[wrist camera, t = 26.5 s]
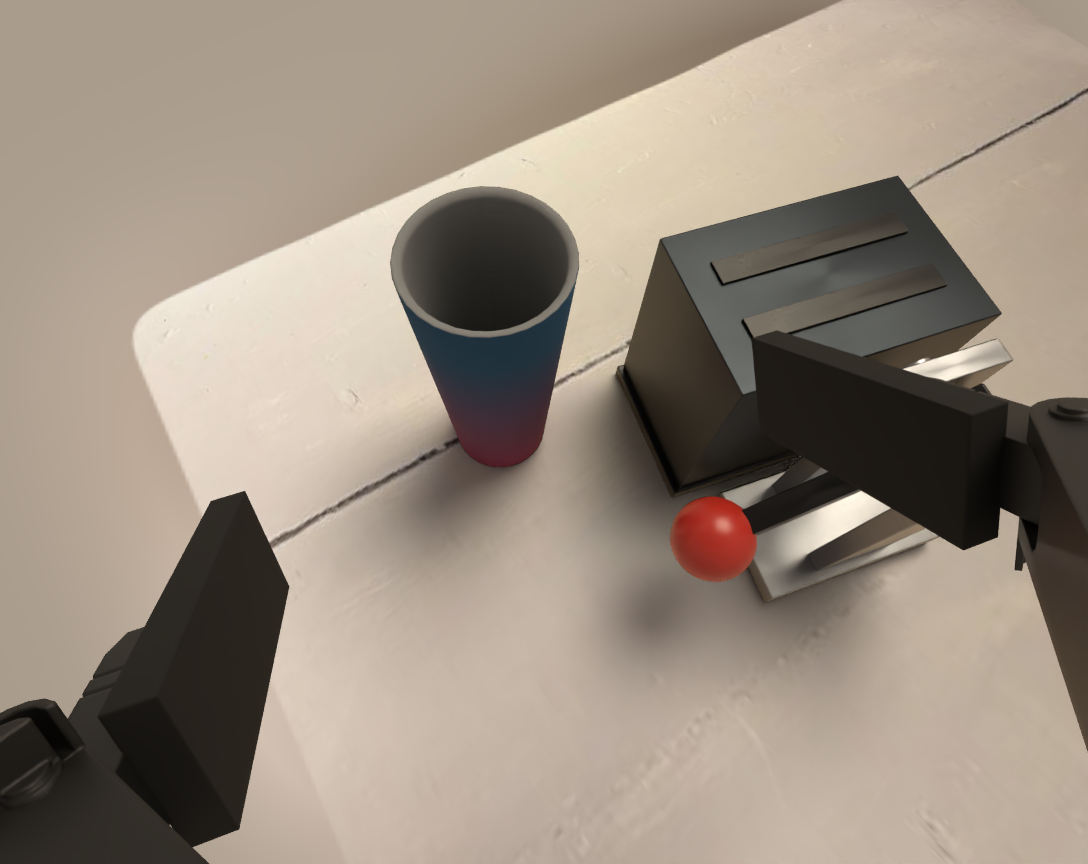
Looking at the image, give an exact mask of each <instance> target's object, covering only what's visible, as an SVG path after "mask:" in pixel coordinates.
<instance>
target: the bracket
mask: <svg viewBox="0 0 1088 864" xmlns="http://www.w3.org/2000/svg"><path fill="white" fill-rule="evenodd" d="M1011 361H1013V358H1012V357H1011V355H1010V354H1009V353H1008V351H1007V350H1006V349H1005V347H1004V346H1003V345H1002V343H1001V342H1000V341H999V339H993V340H990V341H987V342H984V343H981V344H978V345H975V346H972V347H969V348H965V349H962V350H959V351H956V352H953V353H950V354H947V355H944V356H941V357H938V358H934V359H932V358H930V357H926V358H922V359H920V360H917V361H915V362H913V363H911V364H909V365H907V366H906V367H904V368H903V369H904V370H907V371H910V372H913V373H917V374H920V375H923V376H926V377H932V378H938V379H941V380H944V381H948V382H951V383H954V384H958V386H959V387H960V386H964V387H967V388H972V387H974V386H977V385H979V384H981V383H982V382H983V381H985V380H986V379H988V378H989V377H990V376H992V375H993V374H995V373H996V372H997V371H999V370H1000V369H1002V368H1003V367H1004V366H1006V365H1007V364H1009V363H1010V362H1011ZM826 472H828V471H826V470H825V469H823V468H821V467H819V466H818V465H816V464H814V463H813V462H811V461H809V460H807V459H806V458H804V457H802V458H801V459H799V460H798V461H797V462H796V463H795V464H794V465H793V466H792V467H791V468H790V469H788V470H786V471H783V472H780V473H777V474H774V475H771V476H768V477H765V478H762V479H759V480H756V481H753V482H750V483H747V484H744V485H741V486H738V487H735V488H733V489H730V490H727V491H724V492H722V493H721V494H720V495H719V496H718V497H721V498H725V499H728V500H730V501H732V502H734V503H736V504H738V505H739V506H740V507H741V508H742V509H745V508H747V507H750V506H752V505H754V504H756V503H759V502H761V501H763V500H765V499H768V498H770V497H772V496H774V495H777V494H779V493H781V492H783V491H786V490H788V489H790V488H792V487H795V486H797V485H799V484H801V483H804V482H806V481H808V480H810V479H813V478H815V477H817V476H819V475H822V474H824V473H826ZM938 537H939V536H938V535H936V534H934V533H933V532H931V531H929V530H928V529H926V528H924V527H922V526H921V525H919V524H917V523H916V522H914V521H912V520H910V519H909V518H907V517H905V516H904V515H902V514H900V513H898V512H897V511H895V510H893V509H892V508H890V507H888V506H886V505H885V504H883V503H881V502H880V501H878V500H876V499H874V498H873V497H871V496H869V495H867V494H866V493H864V492H862V491H861V492H858V493H856V494H854V495H851V496H849V497H846V498H844V499H842V500H839V501H837V502H835V503H832V504H830V505H828V506H825V507H823V508H821V509H818V510H816V511H814V512H811V513H809V514H807V515H804V516H802V517H800V518H797V519H795V520H792V521H790V522H788V523H785V524H783V525H781V526H778V527H776V528H774V529H771V530H769V531H767V532H764V533H762V534H760V535H757V549H756V553H755V556H754V558H753V560H752V562H751V564H750V565H749V566H748V568H749V570H750V572H751V574H752V576H753V579H754V581H755V583H756V585H757V587H758V589H759V591H760V593H761V595H762V598H763V600H764V602H769V601H772V600H774V599H777V598H780V597H782V596H785V595H788V594H790V593H793V592H796V591H798V590H801V589H804V588H806V587H809V586H812V585H814V584H817V583H820V582H822V581H825V580H828V579H830V578H833V577H836V576H838V575H841V574H844V573H846V572H849V571H852V570H854V569H857V568H860V567H862V566H865V565H868V564H870V563H873V562H876V561H878V560H881V559H884V558H886V557H889V556H892V555H894V554H897V553H900V552H902V551H905V550H908V549H910V548H913V547H916V546H918V545H921V544H924V543H926V542H929V541H931V540H934V539H936V538H938Z"/></svg>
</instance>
